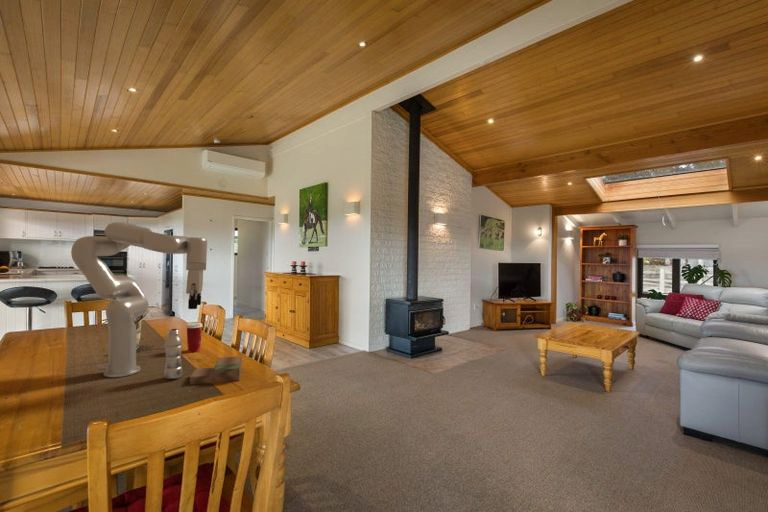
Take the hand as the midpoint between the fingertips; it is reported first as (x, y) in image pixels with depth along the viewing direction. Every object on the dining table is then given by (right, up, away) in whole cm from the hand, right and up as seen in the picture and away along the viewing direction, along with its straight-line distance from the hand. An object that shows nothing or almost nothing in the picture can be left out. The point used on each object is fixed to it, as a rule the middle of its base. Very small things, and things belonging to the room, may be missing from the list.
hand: (194, 306), depth 153 cm
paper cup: (-18, -28, +33) cm, 47 cm away
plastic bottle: (-6, -29, -5) cm, 30 cm away
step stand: (+11, -29, -4) cm, 31 cm away
